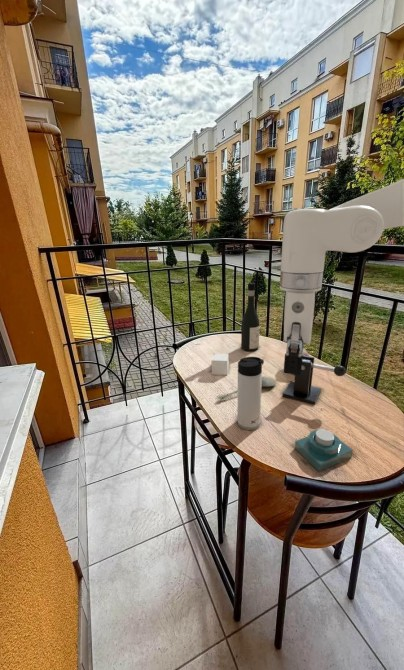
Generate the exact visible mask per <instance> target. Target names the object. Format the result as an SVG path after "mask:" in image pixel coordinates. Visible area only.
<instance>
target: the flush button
mask: <svg viewBox="0 0 404 670" xmlns="http://www.w3.org/2000/svg"><path fill="white" fill-rule="evenodd" d="M316 430H317V431H316V435H315V440H316V442H317V443H318V444H320V445H323V446H331V445H333V442H334V435H335V434H334V433H333V432H331V431H330V430H328V429H324V428H320V429H316ZM333 434H334V435H333Z"/></svg>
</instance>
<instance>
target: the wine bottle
mask: <svg viewBox="0 0 404 670" xmlns="http://www.w3.org/2000/svg"><path fill="white" fill-rule="evenodd" d="M255 288H256V283H255V282H248V283H247V307H246V309H245V312H244V314H243V317H242V321H241V325H240V326H241V329H240V330H241V333H240V334H241V335H240V336H241V339H240V345H241V349H242V350H244V351H245V352H254V351H257V350H259V348H260V329H261V328H260V327H261V323H260V317H259V316H258V312H257V310H256V306H255Z"/></svg>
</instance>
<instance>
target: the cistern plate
mask: <svg viewBox="0 0 404 670" xmlns="http://www.w3.org/2000/svg"><path fill="white" fill-rule="evenodd" d="M317 430H318V429H315V430H312V431H310V432H309V434H308V436H306V437H302V438H300V439H297V440H295V442H294V449H295V450H296V451H297V452H298V453H299V454H300V455H301V456H302V457H304V459H305V460H306V461H307V462H308V463H309V464H311V466H312V467H314V468H315V469H316V470H317V471H318V472H321V471H323V470H325V469H328V468H330V467H332V466H334V465H337V464H339V463H341V462H344V461H346V460H349V459H351V458H352V457H353V452H354V451H353V449H352V448H351V447H350V446H348V445H347V444H346V443H345V442H343V441H342V440H340V438H339V437H338V436H337V435H336V434H335V433H333V435H334V442H333V445H331V446H323V445H320V444H318V443H317V442H316V440H315V435H316V431H317Z"/></svg>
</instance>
